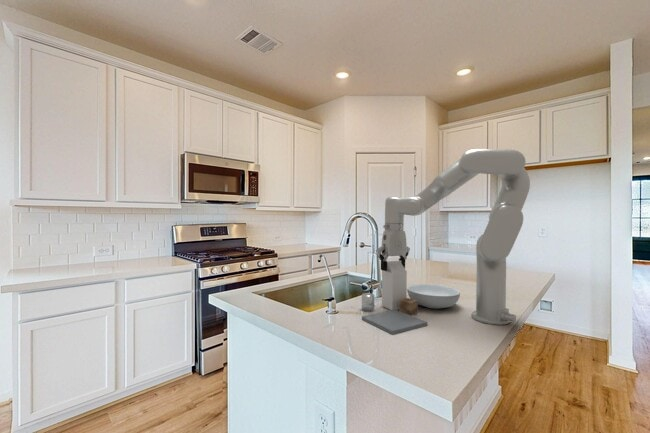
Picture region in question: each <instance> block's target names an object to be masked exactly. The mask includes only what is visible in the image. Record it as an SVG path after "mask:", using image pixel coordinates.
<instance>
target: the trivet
mask: <svg viewBox="0 0 650 433" xmlns="http://www.w3.org/2000/svg"><path fill="white" fill-rule="evenodd" d="M361 320H362V321H364V322H366V323H368V324H370V325H372V326H374V327H376V328H378V329H380V330H382V331H384V332H386V333H389V334H390V335H392V336H393V335H397V334H401V333H404V332H408V331H412V330H415V329H419V328H424V327H427V326H428V324H429V322H428V321H426V320H424V319H421V318H418V317H416V316H414V315H412V316H411V315H408V314H406V313H403V312H401V311H399V310H396V309H394V310H390V309H389V310H386V311H381V312H375V313H372V314H367V315H362V316H361Z"/></svg>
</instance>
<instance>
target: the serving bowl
mask: <svg viewBox="0 0 650 433" xmlns="http://www.w3.org/2000/svg"><path fill="white" fill-rule="evenodd" d="M407 296H408V298H409V299H414V300H418V305H420V306H421V307H425V308H428V309H433V310H434V309H438V310H439V309H445V308H450V307H452V306H455V305H456V303H457V302H458V301H459V300H460V297H461V292H460V291H459V289H456V288H454V287H450V286H447V285H441V284H433V283H415V284H410V285H408V286H407Z"/></svg>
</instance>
